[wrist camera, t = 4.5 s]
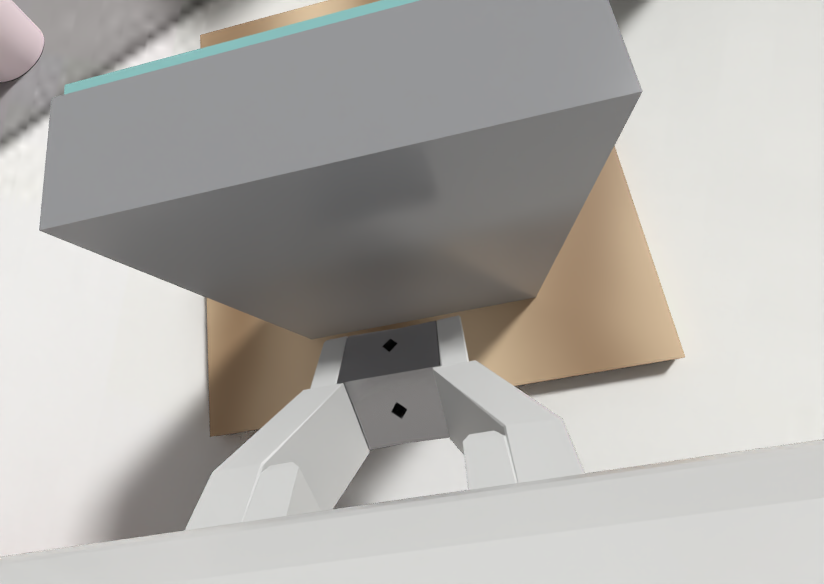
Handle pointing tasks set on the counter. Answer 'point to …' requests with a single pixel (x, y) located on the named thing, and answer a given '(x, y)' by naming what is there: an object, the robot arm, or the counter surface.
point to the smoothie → (17, 41)
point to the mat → (483, 327)
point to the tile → (349, 159)
